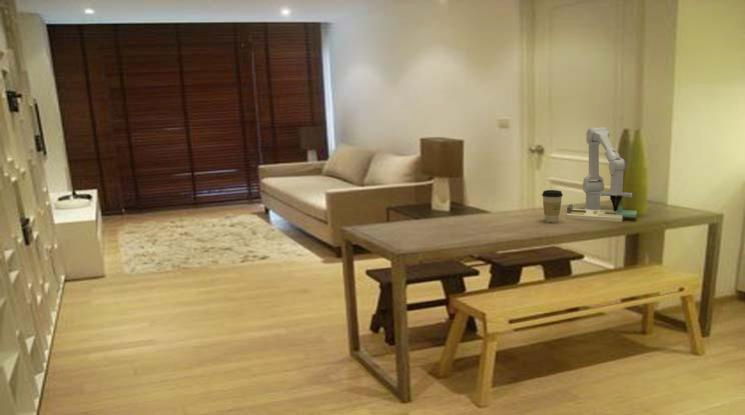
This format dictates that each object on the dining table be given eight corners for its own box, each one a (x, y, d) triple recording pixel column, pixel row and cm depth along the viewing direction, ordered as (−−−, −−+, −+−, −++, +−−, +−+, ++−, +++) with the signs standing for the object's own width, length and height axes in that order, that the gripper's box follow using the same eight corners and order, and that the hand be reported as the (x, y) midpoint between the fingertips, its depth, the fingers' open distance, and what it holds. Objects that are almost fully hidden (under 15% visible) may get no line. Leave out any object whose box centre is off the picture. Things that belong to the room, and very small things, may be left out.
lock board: (570, 212, 323) (570, 206, 322) (623, 215, 312) (623, 209, 311) (566, 218, 308) (566, 212, 308) (621, 221, 298) (622, 215, 297)
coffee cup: (564, 223, 299) (565, 192, 296) (544, 223, 299) (544, 193, 296) (558, 218, 308) (559, 189, 306) (539, 219, 309) (539, 190, 306)
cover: (617, 212, 309) (617, 204, 308) (636, 213, 305) (637, 205, 304) (616, 215, 301) (616, 207, 300) (636, 216, 297) (636, 208, 296)
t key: (569, 209, 319) (569, 204, 319) (586, 210, 316) (586, 205, 315) (567, 213, 311) (567, 207, 311) (584, 214, 308) (585, 208, 307)
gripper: (600, 184, 301) (599, 211, 304) (632, 185, 295) (630, 213, 298) (601, 182, 308) (600, 208, 310) (632, 183, 302) (631, 210, 304)
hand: (615, 210), depth 305 cm, fingers closed
